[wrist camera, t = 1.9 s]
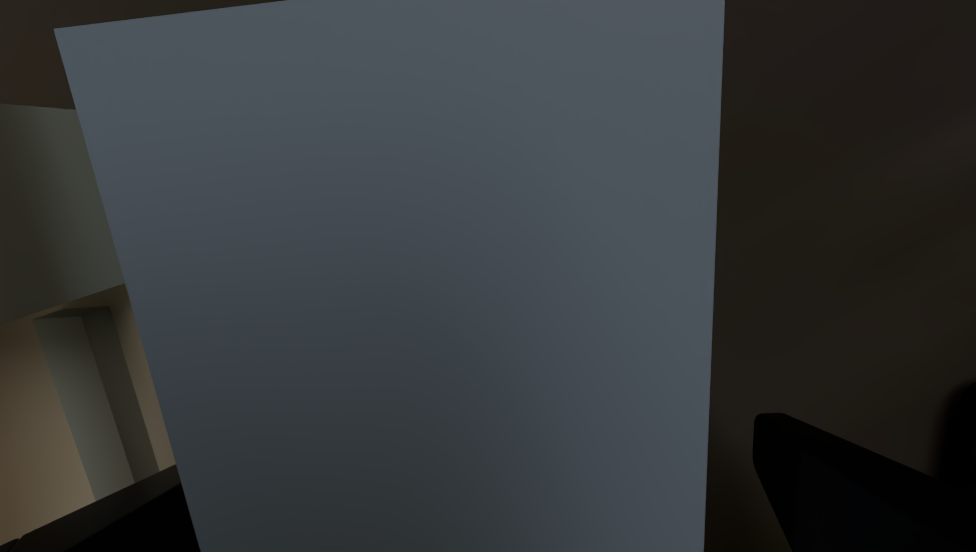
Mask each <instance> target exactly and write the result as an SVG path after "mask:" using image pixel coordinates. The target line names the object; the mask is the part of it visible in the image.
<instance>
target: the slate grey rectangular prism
mask: <svg viewBox="0 0 976 552" xmlns="http://www.w3.org/2000/svg"><path fill="white" fill-rule="evenodd" d="M724 7H725V0H287V1H279V2H271V3H262V4H254V5H246V6H238V7H230V8H221V9H213V10H205V11H197V12H189V13H180V14H172V15H164V16H156V17H148V18H140V19H131V20H123V21H115V22H107V23H99V24H90V25H82V26H74V27H66V28H58V29H54V32H55V36H56V39H57V43H58V46H59V50H60V53H61V57H62V61H63V64H64V68H65V71H66V75H67V78H68V82H69V85H70V89H71V93H72V96H73V100H74V103H75V107H76V110H77V114H78V117H79V121H80V125H81V128H82V132H83V135H84V139H85V142H86V146H87V149H88V153H89V157H90V160H91V164H92V167H93V171H94V174H95V178H96V181H97V185H98V189H99V192H100V196H101V199H102V203H103V206H104V210H105V213H106V217H107V221H108V224H109V228H110V231H111V235H112V238H113V242H114V245H115V249H116V253H117V256H118V260H119V263H120V267H121V270H122V274H123V277H124V281H125V285H126V288H127V292H128V295H129V299H130V302H131V306H132V309H133V313H134V317H135V320H136V324H137V327H138V331H139V334H140V338H141V341H142V345H143V349H144V352H145V356H146V359H147V363H148V366H149V370H150V373H151V377H152V381H153V384H154V388H155V391H156V395H157V398H158V402H159V405H160V409H161V413H162V416H163V420H164V423H165V427H166V430H167V434H168V437H169V441H170V445H171V448H172V452H173V455H174V459H175V462H176V466H177V469H178V473H179V477H180V480H181V484H182V487H183V491H184V494H185V498H186V501H187V505H188V509H189V512H190V516H191V519H192V523H193V526H194V530H195V533H196V537H197V541H198V544H199V548H200V551H201V552H704V530H705V504H706V478H707V452H708V426H709V400H710V373H711V347H712V321H713V295H714V269H715V243H716V216H717V190H718V164H719V138H720V112H721V86H722V59H723V33H724Z"/></svg>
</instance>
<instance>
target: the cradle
mask: <svg viewBox="0 0 976 552" xmlns="http://www.w3.org/2000/svg"><path fill="white" fill-rule="evenodd" d="M175 464H176V462H175V459H174V455H173V452H172V448H171V445H170V441H169V437H168V434H167V430H166V427H165V423H164V420H163V416H162V413H161V409H160V405H159V402H158V398H157V395H156V391H155V388H154V384H153V381H152V377H151V373H150V370H149V366H148V363H147V359H146V356H145V352H144V349H143V345H142V341H141V338H140V334H139V331H138V327H137V324H136V320H135V317H134V313H133V309H132V306H131V302H130V299H129V295H128V292H127V288H126V285H125V281H124V277H123V274H122V270H121V267H120V263H119V260H118V256H117V253H116V249H115V245H114V242H113V238H112V235H111V231H110V228H109V224H108V221H107V217H106V213H105V210H104V206H103V203H102V199H101V196H100V192H99V189H98V185H97V181H96V178H95V174H94V171H93V167H92V164H91V160H90V157H89V153H88V149H87V146H86V142H85V139H84V135H83V132H82V128H81V125H80V121H79V117H78V114H77V110H70V109H57V108H45V107H33V106H21V105H9V104H0V545H3V544H5V543H7V542H9V541H11V540H13V539H16V538H19V539H20V538H21V537H22V536H23V535H24V534H26V533H29V532H31V531H33V530H35V529H37V528H39V527H41V526H44V525H46V524H48V523H50V522H52V521H54V520H56V519H59V518H61V517H63V516H65V515H67V514H69V513H72V512H74V511H76V510H78V509H80V508H82V507H84V506H87V505H89V504H91V503H93V502H95V501H97V500H99V499H102V498H104V497H106V496H108V495H110V494H112V493H114V492H117V491H119V490H121V489H123V488H125V487H127V486H129V485H132V484H134V483H136V482H138V481H140V480H142V479H144V478H147V477H149V476H151V475H153V474H155V473H157V472H160V471H162V470H164V469H166V468H168V467H170V466H172V465H175Z"/></svg>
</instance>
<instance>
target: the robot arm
mask: <svg viewBox="0 0 976 552" xmlns="http://www.w3.org/2000/svg"><path fill="white" fill-rule="evenodd" d="M753 463H754V467H755V470H756V472H757V475H758V477H759V479H760V481H761V483H762V486H763V488H764V490H765V492H766V494H767V497H768V499H769V501H770V503H771V506H772V508H773V510H774V512H775V514H776V517H777V519H778V521H779V523H780V525H781V528H782V530H783V532H784V534H785V537H786V539H787V541H788V543H789V545H790V547H791V549H792V551H793V552H976V383H974V384H972V385H971V386H970V387H969V388H968V389H967V390H966V391H965V392H964V393H963V396H962V398H961V401H960V404H959V410H958V416H957V422H956V428H955V434H954V440H953V446H952V452H951V458H950V464H949V470H948V476H947V482H946V483H945V482H943V481H940V480H938V479H936V478H933V477H931V476H929V475H926V474H924V473H922V472H919V471H917V470H915V469H912V468H910V467H908V466H905V465H903V464H901V463H898V462H896V461H894V460H891V459H889V458H887V457H884V456H882V455H880V454H877V453H875V452H873V451H870V450H868V449H866V448H863V447H861V446H859V445H856V444H854V443H852V442H849V441H847V440H845V439H842V438H840V437H838V436H835V435H833V434H831V433H828V432H826V431H824V430H821V429H819V428H817V427H814V426H812V425H809V424H807V423H805V422H802V421H800V420H798V419H795V418H793V417H791V416H788V415H786V414H783V413H763V414H759V415H757V416H756V418H755V421H754V437H753ZM0 552H201V551H200V548H199V544H198V541H197V537H196V533H195V530H194V526H193V523H192V519H191V516H190V512H189V509H188V505H187V501H186V498H185V494H184V491H183V487H182V484H181V480H180V477H179V473H178V469H177V466H176V464H175V465H172V466H170V467H168V468H166V469H164V470H162V471H160V472H157V473H155V474H153V475H151V476H149V477H147V478H144V479H142V480H140V481H138V482H136V483H134V484H132V485H129V486H127V487H125V488H123V489H121V490H119V491H117V492H114V493H112V494H110V495H108V496H106V497H104V498H102V499H99V500H97V501H95V502H93V503H91V504H89V505H87V506H84V507H82V508H80V509H78V510H76V511H74V512H72V513H69V514H67V515H65V516H63V517H61V518H59V519H56V520H54V521H52V522H50V523H48V524H46V525H44V526H41V527H39V528H37V529H35V530H33V531H31V532H29V533H26V534H24V535H23V536H22V537H21V538H20V539H19V538H16V539H13V540H11V541H9V542H7V543H5V544H3V545H0Z"/></svg>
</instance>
